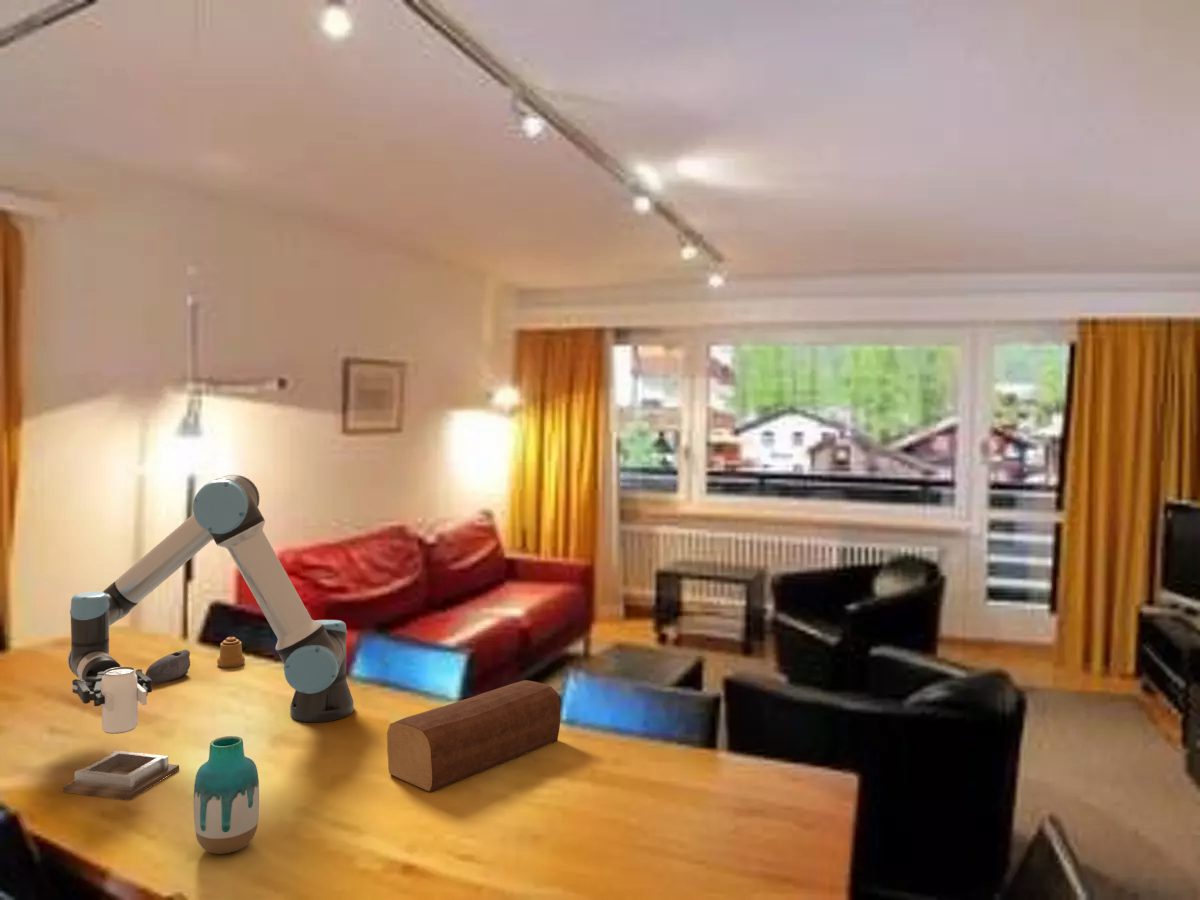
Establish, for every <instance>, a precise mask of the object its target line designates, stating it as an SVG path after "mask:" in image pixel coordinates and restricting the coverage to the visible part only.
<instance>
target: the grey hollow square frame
mask: <svg viewBox="0 0 1200 900" xmlns="http://www.w3.org/2000/svg"><path fill="white" fill-rule="evenodd" d="M168 764H169V756H168V755H161V754H152V753H144V752H143V753H142V752H134V751H133V752H132V751H123V750H122V751H121V750H114V751H112V752H111V754H110V755H107V756H105V757H104V758H101V759H100V760H98V761H96V762H93V763H92V764H90V765H89V766H86V767H84V768H82V769H77V770H76V771H74V781H75V784H79V785H87V786H96V787H104V788H113V789H121V790H129V791H131V790H132V789H134V788H135V786H136V785H137V784H139V783H141V782H143V781H144V780H146V779H148V778H149V777H151V776H153V775H154V774H156V773H158V772H159V771H161V770H166V769H168ZM118 765H123V766H132V767H139V768H138V769H136V770H134V771H132V772H131V773H129V774H127V775H123V774H115V773H106V772H107V771H109V770H111V769H113V768H115V767H117V766H118Z"/></svg>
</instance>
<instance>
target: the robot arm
mask: <svg viewBox="0 0 1200 900" xmlns="http://www.w3.org/2000/svg"><path fill="white" fill-rule="evenodd" d="M259 505H260V493H259V489H258V487H257V486H256V485H255V483H254V482H253V481H252V480H251V479H249V478H247V477H246V476H243V475H240V474H228V475H225V476H222V477H219V478H216V479H213V480H210V481H209V482H208V483H206V484H204V485H203V486H202V487H201V488H200V489H199V490H198V492H197V493H196V495H195V496H194V499H193V503H192V513H193V514H192V515H191V516H189V517H188V518H187V519H185V521H184V522H183V523H181V524H180V525H179V526H178V527H177V528H176V529H174V530H173V531H172V532H171V533H169V535H167V536H166V537H165V538H163V540H161V541H160V542H159V543H158V544H156V545H155V546H154V547H153V548H152V549H151V550H149V552H147V553H146V554H145V555H144V556H143V557H141V558H140V559H139V560H137V562H136V563H135V564H133V565H132V566H131V567H130V568H129V569H128V570H127V571H125V572H124V573H123V574H121V576H119V577H118V578H117V579H116V580H115V581H114V582H112V583H111V584H110V585H108V587H106V588H105V589H104V590H103V591H85V592H81V593H76V594H74V595H73V596H72V598H71V601H70V609H69V615H70V632H71V633H70V636H71V637H70V638H71V639H70V641H71V643H70V651H69V652H68V653H69V654H68V656H67V663H68V667H69V669H70V671H71V672H72V674H73V675H74V676H76V677H77V678H78V679H77V678H76V679H73V680H72V688H71V689H72V693H73V694H76V695H77V696H78V698H79V699H80V700H81V701H82V703H83V704H86V705H87V704H89V703H91V702H92V701H93V706H94V707H99V706H102V704H104V706H105V708H106V709H107V710H108V711H113V697H112V696H111V695H110V694H109V693H104V692H103V695H102V690H101V682H102V678H103V676H104V671H106V670H108V669H111V668H116V667H122V666H121V664H120V663H119V662H118V661H117V660H116V659H115V658H113V656H111V655H110V626H112V625H114V624H115V623H116V622H117V621H119V620H121V619H124V618H125V617H126V616H127V615H129V613H130V611H131V610H132V609H134V608H135V607H136V606H137V605H138V604H139V603H141V602H142V601H143V600H144V599H145V598H146V597H147V596H148V595H150V593H152V592H153V591H154V590H156V589H157V588H158V587H159V586H160V585H161V584H162V583H164V582H165V581H166V580H167V579H168V578H169V577H170V576H172V575H173V574H174V573H176V572H177V571H178V570H179V569H180V568H181V567H182V566H184V565H185V564H186V563H187V562H188V561H189V560H191V559H192V558H193V557H194V556H195V555H197V554H198V553H199V552H200V551H201V550H203V548H205V547H206V546H207V545H208V544H210V542H212V541H214V542H215V545H217V547H221V548H223V549H227V552H228V553H229V554H230V556H231V558H232V560H233V563H235V566H236V567H237V569H238V570H239V572H240V574H241V576H242V577H243V580H244V581H245V583H246V585H247V587H248V588H249V590H250V591H251V593H252V595H253V597H254V599H255V601H256V603H257V604H258V606H259V608H260V610H261V611H262V613H263V615H264V617H265V619H266V620H267V622H268V624H269V626H270V627H271V629H272V631H273V633H274V635H275V636H276V638H277V642H276V645H275V651H276V652H277V654H278V655H279V657H280V659H281V661H282V663H283V665H284V666H283V671H284V678H285V680H286V682H287V684H288V685H289V686H290V687H291V688H292V689H294V690H295V691H294V694H293V696H292V701H291V702H290V706H289V707H290V709H289V710H290V711H289V715H290V718H292V719H294V720H297V721H299V722H307V723H324V722H331V721H337V720H340V719H342V718H346V717H348V716H350V715H351V714H352V713H353V712H354V698H353V695H352V693H351V690H350V687H349V683H348V681H347V634H348V631H347V625H346V623H345V622H344V621H342V620H340V619H339V620H338V619H317V620H314V619H312V617H311V615H310V613H309V611H308V609H307V608H306V606H305V605H304V602H303V600H302V599H301V597H300V595H299V593H298V592H297V590H296V588H295V586H294V584H293V582H292V581H291V579H290V578H289V575H288V573H287V572H286V570H285V569H284V567H283V565H282V563H281V561H280V559H279V558H278V556H277V554H276V552H275V551H274V549H273V546H272V545H271V543H270V542H269V539H268V537H267V536H266V535H265V532H264V526H265V523H266V519H265V518H264V516H263V514H262V512H261V511H260V509H259ZM135 673H136V675H137V700H138V703H140V704H141V705H142V706H145V705H146V706H147V704H148V703H147V701H148V699H147V697H148V695H149V694H148V693H151V692H153V690H152V689H153V684H152V680H151V679H150V678H149V677H147V676H146V675H145V674H146V673H145V674H144V672H143V669H142V668H141V669H140V668H139V669H135Z"/></svg>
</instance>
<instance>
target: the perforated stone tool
mask: <svg viewBox="0 0 1200 900" xmlns="http://www.w3.org/2000/svg"><path fill="white" fill-rule="evenodd" d="M190 655H191V653H190V650H188V649H181V650H179V651H175V652H172V653H169V654H166V655H165V656H163V657H161V658H159V659H157V660H156V661H154V662H152V664H150V665H149V666H148V667H147V669H146V671H145V675H146V676H147V677H149V678H150V679H151V680H152V685H158V684H162V683H166V682H165V681H167V682H171V681H174V680H176V678H177V679H179V678H180V677H182V676H185V675H187V674H188V673H189V669H190V666H191V659H190ZM173 679H174V680H173ZM170 680H171V681H170Z"/></svg>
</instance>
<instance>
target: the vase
mask: <svg viewBox="0 0 1200 900" xmlns="http://www.w3.org/2000/svg"><path fill="white" fill-rule="evenodd" d="M193 786H194V787H193V821H194V830H195V832H194V833H195V837H196V840H197V842H198V844H199V845H200V847H201V848H202V849H203V850H205V851H206V852H209V853H212V854H219V855H220V854H224V855H225V854H230V853H233V852H237V851H239V850H241V849H243V848H245V847H246V846H247V845H249V844H250V843H251V842H252V841H253V839H254V837H255V835H256V833H257V829H258V824H259V815H260V779H259V773H258V768H257V764H256V762H255V761H254V760H253V759H251V758H250V757H247V756H245V750H244V740H243V738H242V737H240V736H236V735H235V736H234V735H227V736H222V737H217V738H215V739H213V740H211V742H210V743H209V753H208V760H207V761H206V762H204V763H203V764H201V765H200V766H199V768H198V769H197V771H196V774H195V779H194V784H193Z"/></svg>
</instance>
